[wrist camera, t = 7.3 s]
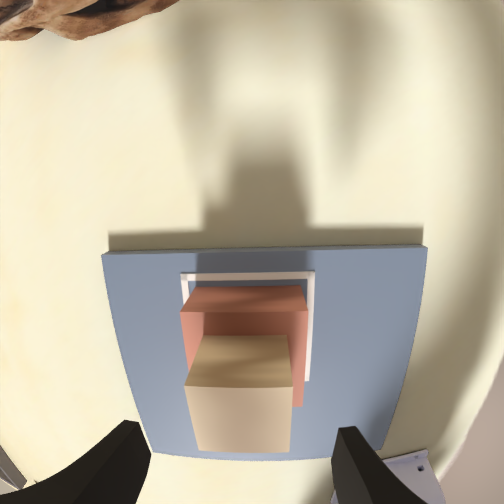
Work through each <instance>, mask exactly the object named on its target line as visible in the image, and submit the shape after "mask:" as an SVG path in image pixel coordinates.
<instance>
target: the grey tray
mask: <svg viewBox="0 0 504 504" xmlns="http://www.w3.org/2000/svg"><path fill="white" fill-rule="evenodd" d="M0 478H1V479H2V480H4V481H5V482H7V483H9V484H10V485H12V486H14V487H15V488H17V489H19V490H21V489H22V488H23V487H24V485H25V484H26V482H27V480H26V479H25V478H24V477H23V475H22V474H21V473H20V472H19V470H18V469H17V468H16V466H15V465H14V464H13V463H12V461H11V460H10V459H9V457H8V456H7V454H6V453H5V452H4V450H3V449H2V447H1V446H0Z"/></svg>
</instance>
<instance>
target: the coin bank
mask: <svg viewBox="0 0 504 504" xmlns="http://www.w3.org/2000/svg"><path fill="white" fill-rule="evenodd" d="M177 1H179V0H0V41H4V40H10V41H19V40H27V39H29V38H31V37H33V36H35V35H36V34H38V33H39V32H40V31H42V30H43V29H46V30H49V31H51V32H54V33H55V34H57V35H59V36H62V37H65V38H67V39H71V40H75V41H76V40H82V39H84V38H86V37H88V36H93V35H96V34H99V33H103V32H106V31H109V30H111V29H114V28H116V27H118V26H121V25H123V24H126V23H129V22H132V21H135V20H137V19H139V18H141V17H142V16H144V15H147V14H151V13H156V12H160V11H162V10H164V9H166V8H167V7H169V6H171V5H172V4H174V3H176V2H177Z"/></svg>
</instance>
